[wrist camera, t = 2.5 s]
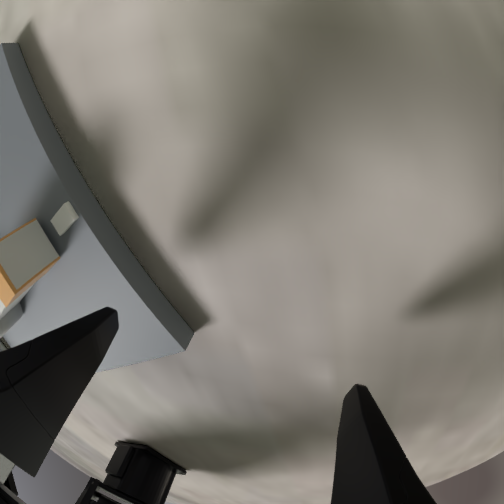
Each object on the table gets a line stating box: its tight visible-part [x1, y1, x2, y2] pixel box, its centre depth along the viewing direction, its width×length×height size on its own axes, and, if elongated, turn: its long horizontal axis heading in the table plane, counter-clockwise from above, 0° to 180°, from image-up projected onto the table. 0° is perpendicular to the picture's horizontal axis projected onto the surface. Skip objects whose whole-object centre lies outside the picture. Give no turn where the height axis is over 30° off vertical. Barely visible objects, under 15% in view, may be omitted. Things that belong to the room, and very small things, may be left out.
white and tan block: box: [0, 218, 60, 338], centre depth 11 cm, size 11×4×3 cm, turn 122°
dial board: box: [0, 43, 194, 372], centre depth 13 cm, size 18×21×2 cm
